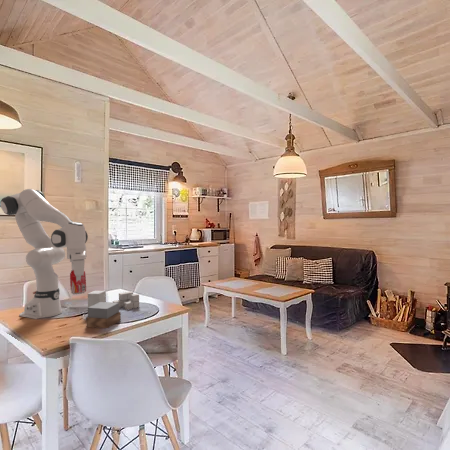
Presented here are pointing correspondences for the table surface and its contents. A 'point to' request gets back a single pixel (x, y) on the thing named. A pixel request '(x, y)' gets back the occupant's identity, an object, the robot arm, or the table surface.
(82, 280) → the soda can
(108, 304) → the tower top
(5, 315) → the table surface
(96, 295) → the supplement box
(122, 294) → the puzzle cube
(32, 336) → the table surface
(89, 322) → the tower bottom
